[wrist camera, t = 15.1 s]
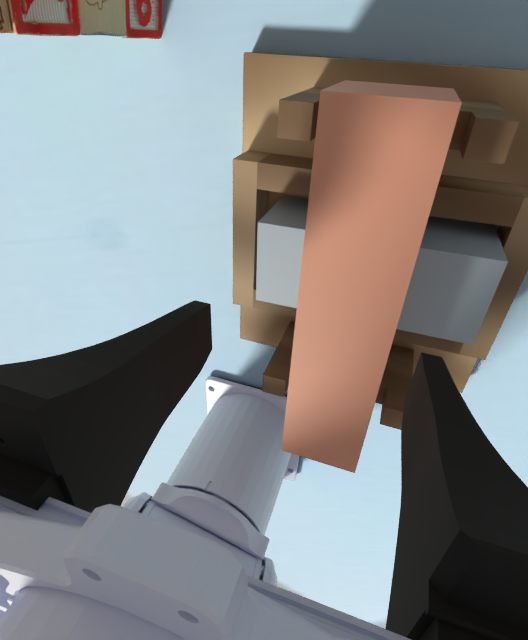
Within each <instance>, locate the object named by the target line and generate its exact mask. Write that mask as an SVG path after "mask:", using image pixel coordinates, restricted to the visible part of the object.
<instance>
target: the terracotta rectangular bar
mask: <svg viewBox="0 0 528 640" xmlns="http://www.w3.org/2000/svg"><path fill="white" fill-rule="evenodd" d="M461 104H462V102H461V100H460V98H459V97H458V95H457V93H456V91H455V90H454V89H453V88H440V87H427V86H414V85H401V84H388V83H375V82H362V81H349V80H344V81H342V82H340V83H337V84H335V85H332V86H330V87H328V88H325V89H323V90H320V99H319V108H318V117H317V127H316V136H315V145H314V154H313V163H312V173H311V182H310V191H309V200H308V209H307V219H306V228H305V237H304V246H303V256H302V265H301V274H300V283H299V292H298V302H297V311H296V320H295V329H294V339H293V348H292V357H291V366H290V375H289V385H288V394H287V403H286V412H285V421H284V431H283V440H282V449H281V450H282V451H286V452H289V453H292V454H295V455H299V456H302V457H305V458H308V459H312V460H315V461H318V462H321V463H324V464H328V465H331V466H334V467H337V468H341V469H344V470H347V471H350V472H354V473H355V470H356V467H357V463H358V460H359V456H360V453H361V449H362V446H363V442H364V439H365V436H366V432H367V429H368V425H369V422H370V418H371V415H372V411H373V408H374V404H375V401H376V397H377V394H378V391H379V387H380V384H381V380H382V377H383V373H384V370H385V366H386V363H387V359H388V356H389V353H390V349H391V346H392V342H393V339H394V335H395V332H396V328H397V325H398V321H399V318H400V315H401V311H402V308H403V304H404V301H405V297H406V294H407V290H408V287H409V283H410V280H411V277H412V273H413V270H414V266H415V263H416V259H417V256H418V252H419V249H420V245H421V242H422V239H423V235H424V232H425V228H426V225H427V221H428V218H429V214H430V211H431V207H432V204H433V200H434V197H435V194H436V190H437V187H438V183H439V180H440V176H441V173H442V169H443V166H444V162H445V159H446V156H447V152H448V149H449V145H450V142H451V138H452V135H453V131H454V128H455V124H456V121H457V118H458V114H459V111H460V107H461Z"/></svg>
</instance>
